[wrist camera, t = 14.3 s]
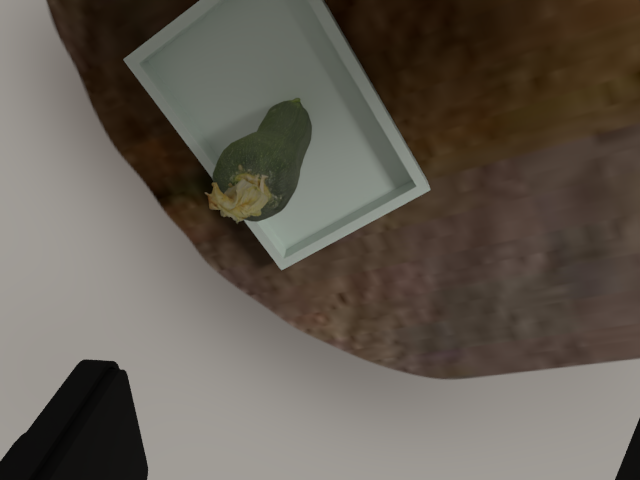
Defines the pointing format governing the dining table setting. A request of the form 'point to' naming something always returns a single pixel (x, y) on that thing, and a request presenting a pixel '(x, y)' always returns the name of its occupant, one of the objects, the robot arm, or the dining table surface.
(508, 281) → the dining table surface
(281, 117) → the vegetable
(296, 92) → the tray
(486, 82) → the dining table surface
